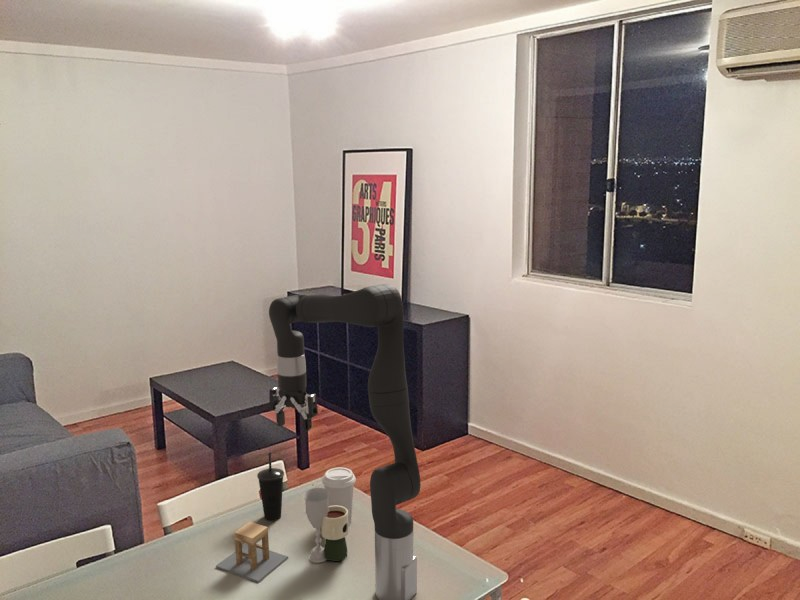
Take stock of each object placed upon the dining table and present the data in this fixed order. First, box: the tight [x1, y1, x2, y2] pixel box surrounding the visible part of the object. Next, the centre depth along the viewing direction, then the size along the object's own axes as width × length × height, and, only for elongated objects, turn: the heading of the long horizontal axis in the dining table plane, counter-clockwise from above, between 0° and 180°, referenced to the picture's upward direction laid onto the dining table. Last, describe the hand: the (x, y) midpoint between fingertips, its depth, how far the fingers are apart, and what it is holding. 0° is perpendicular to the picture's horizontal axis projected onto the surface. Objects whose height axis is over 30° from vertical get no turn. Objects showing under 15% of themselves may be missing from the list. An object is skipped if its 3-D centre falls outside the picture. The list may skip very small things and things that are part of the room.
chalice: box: [302, 487, 330, 563], centre depth 180 cm, size 7×7×18 cm
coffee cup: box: [321, 467, 357, 525], centre depth 198 cm, size 10×10×15 cm
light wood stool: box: [234, 521, 270, 570], centre depth 179 cm, size 6×6×9 cm
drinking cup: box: [256, 452, 285, 522], centre depth 200 cm, size 8×8×20 cm
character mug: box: [320, 505, 350, 562], centre depth 181 cm, size 11×7×13 cm, turn 0°
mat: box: [215, 543, 289, 584], centre depth 180 cm, size 14×12×1 cm
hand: (294, 428), depth 185 cm, fingers open, 8 cm apart
